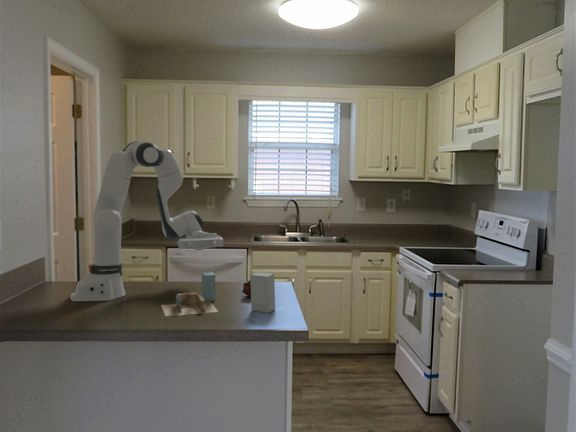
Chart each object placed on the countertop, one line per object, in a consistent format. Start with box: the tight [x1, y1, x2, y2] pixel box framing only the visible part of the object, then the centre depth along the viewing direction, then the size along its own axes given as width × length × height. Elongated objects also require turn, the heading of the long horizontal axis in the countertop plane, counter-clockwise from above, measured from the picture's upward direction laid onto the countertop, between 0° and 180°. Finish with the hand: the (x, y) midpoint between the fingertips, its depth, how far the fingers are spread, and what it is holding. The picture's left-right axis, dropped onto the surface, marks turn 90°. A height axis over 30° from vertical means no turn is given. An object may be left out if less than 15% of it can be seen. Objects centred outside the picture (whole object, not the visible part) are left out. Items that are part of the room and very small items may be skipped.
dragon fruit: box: [242, 279, 251, 299], centre depth 220 cm, size 8×8×12 cm
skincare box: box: [249, 272, 276, 314], centre depth 198 cm, size 8×6×15 cm
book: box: [201, 271, 216, 302], centre depth 211 cm, size 4×7×12 cm, turn 20°
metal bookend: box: [175, 294, 181, 313], centre depth 195 cm, size 1×10×4 cm, turn 20°
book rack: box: [161, 292, 219, 317], centre depth 196 cm, size 20×16×6 cm
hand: (203, 245), depth 220 cm, fingers open, 8 cm apart
